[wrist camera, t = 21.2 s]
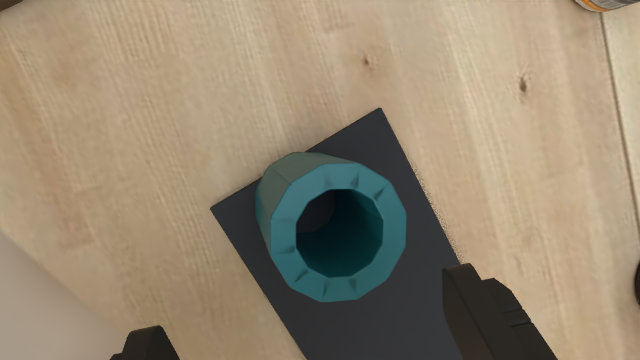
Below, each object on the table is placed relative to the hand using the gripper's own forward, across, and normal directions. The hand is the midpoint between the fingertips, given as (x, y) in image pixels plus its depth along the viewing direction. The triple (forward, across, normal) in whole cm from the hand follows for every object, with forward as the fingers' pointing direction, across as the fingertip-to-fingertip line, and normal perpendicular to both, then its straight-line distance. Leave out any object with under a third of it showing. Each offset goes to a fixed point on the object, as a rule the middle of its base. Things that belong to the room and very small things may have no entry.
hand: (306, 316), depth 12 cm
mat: (+11, -3, +12) cm, 17 cm away
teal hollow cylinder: (+13, 0, +5) cm, 14 cm away
